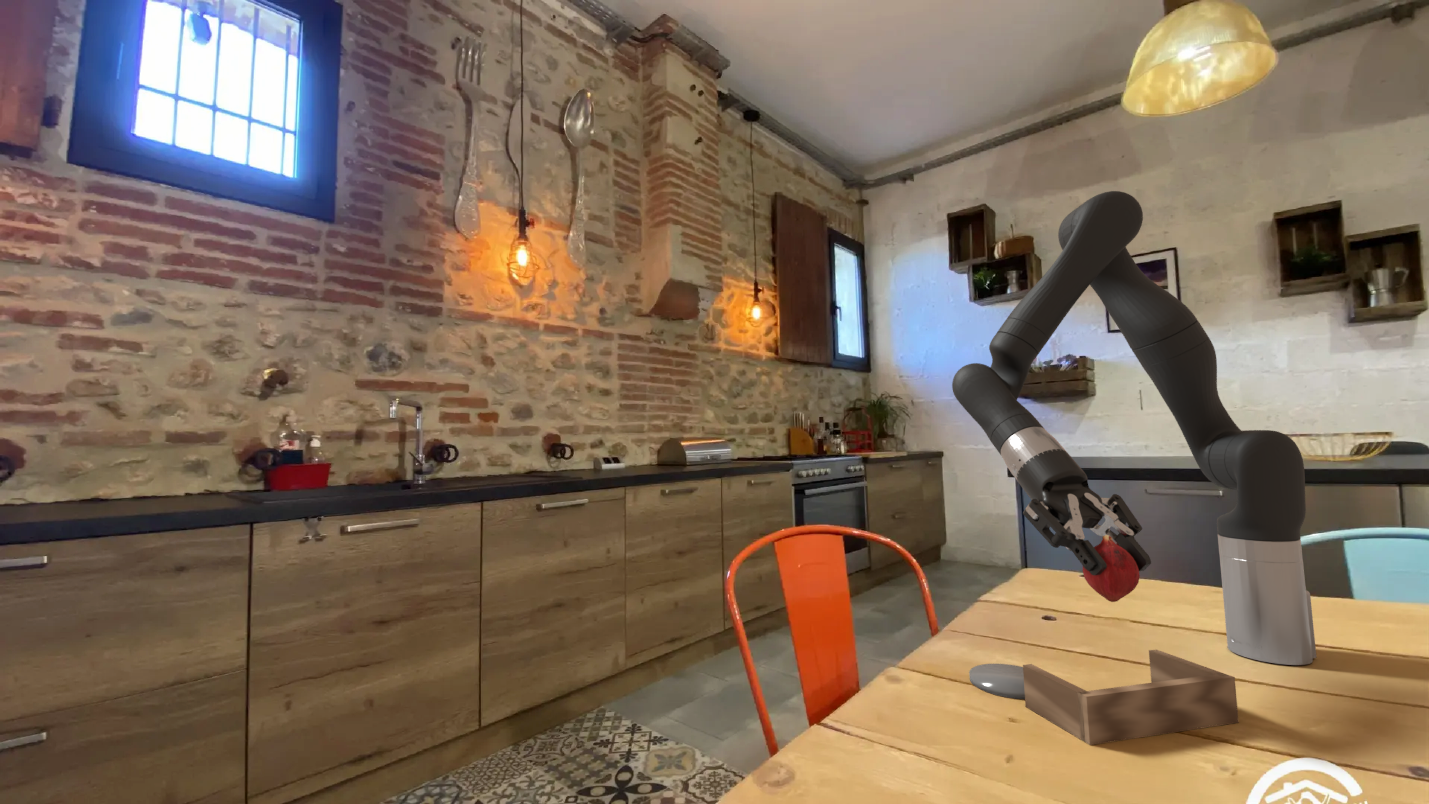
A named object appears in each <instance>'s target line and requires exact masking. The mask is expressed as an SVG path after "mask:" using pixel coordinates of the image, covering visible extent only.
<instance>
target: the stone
mask: <svg viewBox="0 0 1429 804" xmlns="http://www.w3.org/2000/svg"><path fill="white" fill-rule="evenodd" d="M968 671H969V672H968V673H969V681H970V683H971V684H972V685H973V686H974V687H976V688H977V689H979V690H981V691H983V692H985V693H988V694H992V695H994V696H999V697H1004V698H1007V699H1008V698H1009V699H1015V700H1025V690H1024V674H1023V666H1020V665H1015V664H1008V663H1007V664H1006V663H985V664H979V665H975V666H973V667H972V668H970V670H968Z"/></svg>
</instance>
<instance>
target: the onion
mask: <svg viewBox="0 0 1429 804" xmlns="http://www.w3.org/2000/svg"><path fill="white" fill-rule="evenodd" d="M1101 537H1102V540H1101V541H1100V543H1099V544H1097V545H1095V546H1093V547H1094V548H1095V550H1096V551H1097V552H1098V553H1099V555H1100V556H1101V557H1102V559H1103V560H1104V561H1105V563H1106V565H1107V567H1106V569H1105V570H1104V571H1103V572H1102V573H1101V574H1100V575H1092V574H1091V573H1090V572H1089V571H1088V570H1086V569H1085V568H1084V567H1083V566H1082V573H1083V578H1084V580H1085V581H1086V583H1087V584H1088V585H1089V586H1090V588H1092V589H1093V590H1094V591H1095V592H1096V593H1097V594H1098V595H1100V596H1101V597H1102V598H1104V599H1105V600H1107V601H1109V602H1111V603H1115V602H1119V601H1120V600H1121V599H1122V598H1125V597H1126V596H1127V595H1129V594H1130V593H1132V592H1133V591H1134V590H1135V589H1136V588H1137V586H1138V584H1139V582H1140V581H1139V580H1140V576H1141V575H1140V571H1139V569H1138V566H1137V564H1136V562H1135V560H1134V558H1133V557H1132V556H1131V555H1130V554H1129V553H1128V552H1127V551H1126V550H1125V549H1123V548H1122V547H1120V546H1118V545H1117V544H1115V543H1114V542H1113V540H1112V538H1111V537H1110V536H1108V535H1105V536H1101Z"/></svg>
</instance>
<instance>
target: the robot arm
mask: <svg viewBox="0 0 1429 804" xmlns="http://www.w3.org/2000/svg"><path fill="white" fill-rule="evenodd" d="M1143 216H1144V214H1143V209H1142V206H1141V204H1140V202H1139V200H1137V198H1135V197H1134V196H1133V195H1131V194H1130V193H1127V192H1125V191H1120V190H1111V191H1104V192H1102V193H1099V194H1097V195H1095V196H1093V197H1090V198H1089V199H1087V200H1086V201H1084V202H1083V203H1081V204H1080V205H1079V206H1078V207H1076V208H1075V209H1073V210H1072V211H1070V212H1069V213H1068V214H1067V215H1065V217H1064V218H1063V220H1062V221H1061V223H1060V225H1059V227H1058V235H1057V236H1058V242H1059V245H1060V248H1061V250H1062V251H1061V252H1060V254H1059V255H1058V257H1057V258H1056V260H1055V261H1054V262H1053V264H1052V265H1051V266H1050V267H1049V268H1048V270H1047V271H1046V272H1045V274H1044V275H1043V276H1042V277H1041V278H1040V279H1039V280H1038V281H1037V282H1036V283H1035V285H1034V286H1033V287H1032V288H1031V289H1030V290H1029V291H1028V292H1027V293H1026V295H1024V297H1022V299H1021V300H1020V301H1019V302H1018V303H1017V304H1016V306H1015V307H1014V308H1013V309H1012V311H1011V312H1010V313H1009V315H1008V316H1007V318H1006V319H1005V320H1004V322H1003V323H1002V325H1001V326H1000V328H999V329H998V331H997V332H996V333H995V335H994V336H993V338H992V339H991V340H990V343H989V347H988V348H989V349H988V350H989V353H990V355H991V359H992V360H991V361H992V362H991V365H990V366H989V365H987V364H984V363H977V362H974V363H968V364H965V365H964V366H962V367H960V368H959V369H958V370H957V371H956V373H954V376H953V379H952V382H951V383H952V384H951V388H952V393H953V395H954V398H956V400H957V401H958V403H959V404H960V405H961V406H962V408H963V409H964V410H965V411H966V412H967V414H969V416H971V418H972V419H973V420H974V421H975V422H976V423H977V424H978V425H979V426H980V427H981V429H982V430H983V432H984V433H985V434H986V436H987V438H988V440H990V442H991V444H992V446H993V447H995V450H996V451H997V452H998V453H999V454H1000V456H1001V458H1002V459H1003V461H1004V463H1005V464H1006V467H1007V468H1008V470H1009V471H1010V473H1011V475H1012V476H1013V477H1014V478H1015V479H1016V481H1017V483H1018V484H1019V485H1020V487H1021V489H1023V491H1024V492H1025V494H1027V496H1028V497H1029V499H1030V501H1029V503H1028V504H1027V506H1026V507H1025V509H1024V510H1023V512H1022V515H1023V516H1024V517H1025V518H1026V520H1028V522H1029V523H1030V524H1031V525H1033V527H1034V528H1035V529H1036V530H1037V531H1038V533H1040V535H1041V536H1042V537H1043V538H1044V540H1046V542H1048V543H1049V545H1050V546H1052V547H1053V548H1056V549H1057V548H1060V547H1065V548H1066V549H1067V550H1068V551H1070V552H1072V554H1073V555H1074V556H1075V557H1076V559H1077V560H1078V561H1079V562H1080V564H1081V565H1082V568H1083V567H1084V568H1085V569H1086V570H1088V571H1089V572H1090V573H1091V574H1092V575H1100V574H1101V573H1102V572H1103V571H1104V570H1105V569H1106V567H1107V565H1106V563H1105V561H1104V560H1103V559H1102V557H1101V556H1100V555H1099V553H1098V552H1097V551H1096V550H1095V548H1094V547H1095V546H1094V545H1093V544H1092V543H1091V541H1089V539H1085V538H1086V537H1085V534H1084V531H1083V530H1084V529H1089V530H1090V531H1092V532H1093V533H1094V534H1096V535H1097V536H1098V537H1103V536H1105V535H1108V536H1110V537H1111V538H1112V540H1113V542H1114V543H1115V544H1117V545H1118V546H1120V547H1122V548H1123V549H1125V550H1126V551H1127V552H1128V553H1129V554H1130V555H1131V556H1132V557H1133V558H1134V560H1135V562H1136V564H1137V566H1138V569H1139V572H1144V571H1145V570H1146V569H1147V568H1149V566H1150V565H1151V564H1152V561H1151V557H1150V556H1149V554H1148V553H1147V552H1146V551H1145V550H1144V548H1143V547H1142V545H1141V544H1140V543H1139V542H1138V541H1137V540H1136V538H1135V537H1136V536H1138V534H1139V533H1141V532H1142V530H1143V527H1142V525H1141V524H1140V523H1139V521H1138V519H1137V518H1136V516H1135V515H1134V513H1133V512H1132V510H1131V509H1130V507H1129V506H1128V505H1127V504H1126V502H1125V500H1124V499H1123V498H1122V497H1121V495H1119V494H1117V493H1114V494H1112V495H1111V496H1110V497H1101V496H1100V495H1099V494H1098V493H1097V492H1095V491H1093V490H1092V489H1091V488H1090V486H1089V483H1088V481H1089V480H1088V476H1087V474H1086V472H1085V471H1084V470H1083V468H1082V467H1080V465H1078V463H1077V462H1076V461H1075V459H1074V458H1072V456H1071V455H1070V454H1069V452H1068V451H1067V450H1066V449H1065V448H1064V447H1063V446H1062V444H1061V443H1060V442H1059V441H1058V440H1057V439H1056V438H1055V437H1054V436H1053V435H1052V434H1051V433H1049V431H1047V429H1045V427H1044V426H1043V425H1042V424H1041V423H1040V422H1039V421H1038V419H1037V418H1036V416H1034V415H1033V414H1032V413H1031V411H1029V410H1028V409H1027V408H1026V407H1025V406H1024V405H1023V404H1022V403H1020V402H1019V401H1018V399H1019V397H1020V395H1021V391H1022V390H1023V387H1024V385H1025V382H1026V380H1027V377H1028V375H1029V372H1030V369H1031V367H1032V364H1033V362H1034V361H1035V359H1036V358H1037V357H1038V355H1039V354H1040V352H1041V351H1042V350H1043V348H1044V347H1045V346H1046V344H1047V343H1048V341H1049V340H1050V339H1051V338H1052V335H1053V334H1055V331H1056V330H1057V329H1058V327H1059V326H1060V324H1061V323H1062V322H1063V320H1064V319H1065V318H1066V316H1067V315H1068V314H1069V312H1070V311H1071V309H1072V308H1073V306H1074V305H1075V304H1076V303H1077V301H1078V300H1079V299H1080V298H1081V296H1082V295H1083V294H1084V292H1085V291H1086V290H1087V289H1088V287H1089V286H1090V287H1091V288H1092V289H1093V291H1094V292H1095V293H1096V295H1097V296H1098V297H1099V299H1100V300H1101V302H1102V304H1103V306H1104V307H1105V309H1106V311H1107V313H1108V314H1109V315H1110V317H1111V319H1112V320H1113V322H1114V323H1115V326H1116V327H1117V328H1118V329H1119V331H1120V333H1121V334H1122V336H1123V338H1124V339H1125V340H1126V342H1127V344H1128V346H1129V348H1130V349H1131V351H1132V352H1133V354H1134V356H1135V358H1136V359H1137V361H1138V362H1139V363H1140V365H1141V367H1142V369H1144V371H1145V373H1146V374H1147V375H1148V376H1149V379H1150V380H1151V381H1152V382H1153V384H1154V386H1155V388H1156V389H1157V391H1158V393H1159V394H1160V396H1161V398H1162V400H1163V401H1164V403H1165V404H1166V406H1167V408H1168V409H1169V411H1170V412H1171V414H1172V415H1173V417H1174V420H1175V422H1176V423H1177V424H1178V427H1179V428H1180V429H1179V430H1180V431H1181V433H1182V435H1183V437H1184V440H1185V441H1186V444H1187V446H1188V447H1189V450H1190V453H1191V454H1192V456H1193V458H1194V460H1195V462H1196V464H1197V466H1198V467H1199V469H1200V471H1201V472H1202V474H1203V475H1204V476H1205V478H1207V479H1208V481H1210V482H1211V483H1213V484H1215V485H1216V486H1218V487H1220V488H1224V489H1228V490H1235V491H1237V492H1236V504H1235V507H1234V508H1233V509H1232V510H1231V511H1228V512H1227V513H1223V514H1221V515H1219V516H1218V517H1217V519H1216V529H1217V530H1216V531H1217V543H1218V544H1217V545H1218V553H1219V564H1220V573H1221V574H1220V576H1221V585H1222V598H1223V609H1224V620H1225V622H1224V623H1225V633H1226V644H1227V649H1228V651H1230V652H1232V653H1233V654H1236V655H1239V656H1241V657H1243V658H1244V657H1245V658H1248V659H1251V660H1256V661H1259V662H1265V663H1272V664H1276V665H1289V666H1290V665H1291V666H1304V665H1309V664H1312V663H1313V661H1314V660H1313V659H1316V658H1317V650H1316V638H1315V629H1314V619H1313V618H1314V617H1313V610H1312V609H1313V608H1312V599H1311V593H1310V591H1309V590H1307V587H1306V580H1305V579H1306V578H1305V577H1306V576H1305V571H1304V570H1305V567H1304V560H1303V559H1304V558H1303V550H1302V549H1303V548H1302V541H1301V538H1302V537H1301V528H1302V526H1303V523H1304V521H1305V518H1306V513H1307V509H1306V507H1307V506H1306V478H1305V476H1306V475H1305V464H1304V459H1303V456H1302V453H1301V450H1300V449H1299V448H1300V447H1299V446H1298V445H1297V443H1296V442H1295V441H1294V440H1293V439H1292V438H1291V437H1290V436H1288V435H1287V434H1285V433H1283V432H1281V431H1278V430H1277V431H1276V430H1270V429H1269V430H1268V429H1266V430H1265V429H1262V430H1261V429H1254V430H1252V429H1250V430H1249V429H1248V430H1242V429H1240V427H1239V426H1238V425H1237V424H1236V422H1234V420H1233V419H1232V417H1231V416H1230V413H1229V412H1228V411H1227V409H1226V408H1225V406H1224V404H1223V402H1222V400H1221V398H1220V396H1219V395H1220V394H1219V391H1218V363H1217V360H1218V359H1217V353H1216V350H1215V346H1214V345H1213V342H1212V341H1211V338H1210V337H1209V335H1208V334H1207V333H1206V331H1205V329H1204V327H1203V326H1202V324H1201V323H1200V321H1199V320H1198V317H1196V316H1195V314H1194V313H1193V312H1192V311H1191V309H1190V308H1189V307H1188V306H1187V305H1186V304H1184V302H1182V301H1181V300H1180V299H1178V298H1177V297H1176V296H1175V295H1173V294H1172V293H1171V292H1169V291H1167V290H1166V289H1165V288H1163V287H1161V286H1160V285H1158V284H1157V283H1156V282H1154V281H1153V280H1151V278H1150V277H1148V276H1147V275H1146V274H1144V272H1143V271H1142V270H1141V269H1140V268H1139V266H1138V265H1137V263H1136V262H1135V260H1134V259H1133V257H1132V255H1131V254H1130V252H1129V250H1128V249H1127V246H1128V245H1129V244H1130V243H1131V242H1133V240H1134V239H1135V238H1136V237H1137V235H1138V234H1139V232H1140V230H1141V228H1142V226H1143V220H1144V217H1143ZM1103 517H1104V519H1105V521H1104V522H1103V523H1102V525H1099V523H1100V522H1101V521H1102V519H1103ZM1126 524H1127V525H1126ZM1111 527H1112V528H1113V529H1115V530H1116V531H1117V532H1118V534H1116V533H1115V532H1114V531H1112V530H1111ZM1051 529H1052V530H1053V531H1054V532H1055V533H1053V532H1052V531H1051Z"/></svg>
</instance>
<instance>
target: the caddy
mask: <svg viewBox="0 0 1429 804" xmlns="http://www.w3.org/2000/svg"><path fill="white" fill-rule="evenodd" d="M1148 658H1149V669H1150V682H1146V683H1140V684H1131V685H1123V686H1115V687H1108V688H1100V689H1093V690H1086V689H1083V688H1082V687H1079V686H1077V685H1075V684H1073V683H1071V682H1069V681H1067V680H1065V679H1063V678H1061V677H1059V676H1056V675H1055V674H1053V673H1051V672H1049V671H1047V670H1045V669H1043V668H1040V667H1039V666H1036V665H1035V664H1032V663H1030V664H1029V663H1028V664H1022V667H1023V674H1024V690H1025V699H1024V702H1025V704H1024V705H1025V708H1027V709H1029V710H1030V711H1032V712H1034V713H1035V714H1036V715H1039V716H1041V718H1044V719H1045V720H1047V721H1048V722H1050V723H1052V724H1053V725H1055V726H1057V727H1059V728H1060V729H1062V730H1064V731H1065V732H1068V733H1069V734H1071V735H1073V736H1074V737H1076V738H1077V739H1080V740H1081V741H1082V742H1084V743H1086V744H1087V745H1089V746H1093V745H1097V744H1098V745H1099V744H1106V743H1112V742H1113V743H1114V742H1118V741H1119V742H1120V741H1125V740H1132V739H1137V738H1138V739H1139V738H1145V737H1152V736H1157V735H1159V736H1160V735H1165V734H1171V733H1177V732H1185V731H1191V730H1197V729H1203V728H1204V729H1205V728H1211V727H1219V726H1222V725H1223V726H1224V725H1231V724H1237V723H1238V724H1239V722H1240V721H1239V711H1238V699H1237V698H1238V697H1237V689H1236V677H1235V676H1232V675H1229V674H1227V673H1224V672H1221V671H1218V670H1215V669H1212V668H1209V667H1207V666H1204V665H1202V664H1198V663H1195V662H1192V661H1190V660H1187V659H1186V658H1181V657H1179V656H1176V655H1173V654H1170V653H1168V652H1164V651H1162V650H1159V649H1149V650H1148Z"/></svg>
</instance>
